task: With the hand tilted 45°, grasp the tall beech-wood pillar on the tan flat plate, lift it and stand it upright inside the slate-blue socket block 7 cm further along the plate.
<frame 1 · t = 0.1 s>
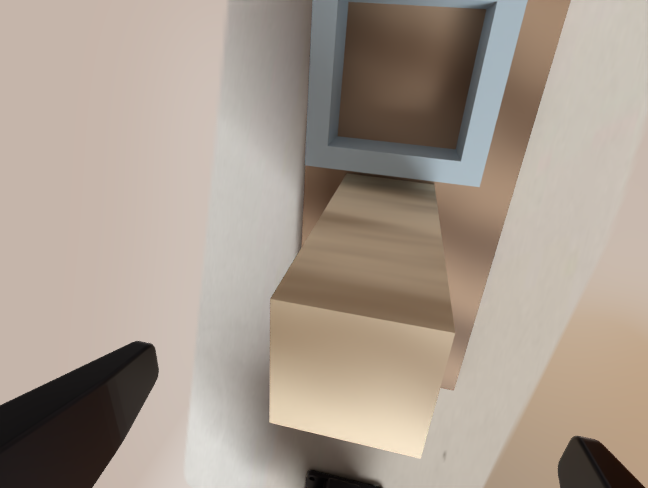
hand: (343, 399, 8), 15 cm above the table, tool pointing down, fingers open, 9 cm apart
slate socket block: (404, 79, 18), resting on tan flat plate
beech pillar: (383, 219, 21), point 1 cm above the table, touching tan flat plate
tan flat plate: (398, 214, 22), on the table
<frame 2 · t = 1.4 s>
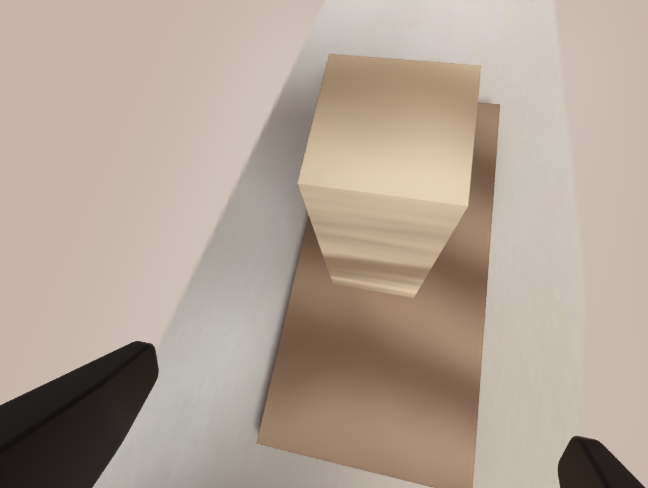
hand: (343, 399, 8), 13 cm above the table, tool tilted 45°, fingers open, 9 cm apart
beech pillar: (378, 252, 22), point 1 cm above the table, touching tan flat plate
tan flat plate: (391, 259, 23), on the table
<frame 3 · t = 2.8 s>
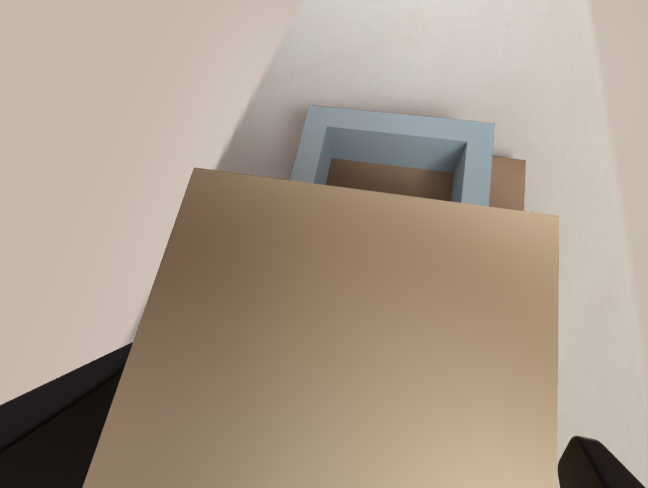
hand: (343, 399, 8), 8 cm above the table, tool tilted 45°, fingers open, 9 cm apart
slate socket block: (382, 220, 17), resting on tan flat plate
beech pillar: (355, 382, 15), point 1 cm above the table, touching tan flat plate
tan flat plate: (373, 385, 16), on the table
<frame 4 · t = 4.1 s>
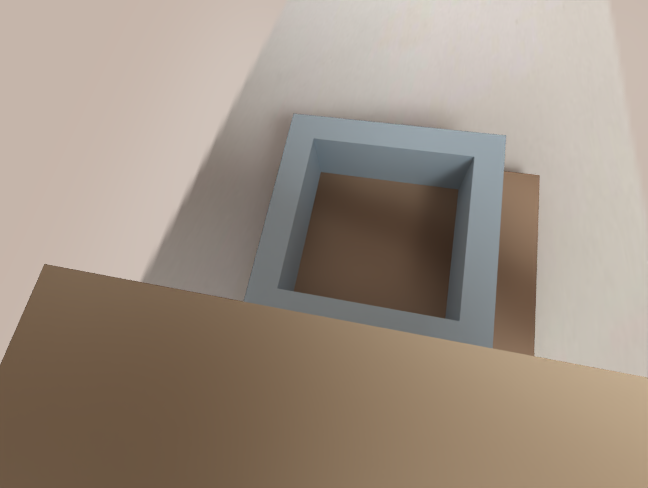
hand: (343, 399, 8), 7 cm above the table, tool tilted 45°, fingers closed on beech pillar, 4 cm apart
slate socket block: (377, 244, 15), resting on tan flat plate
beech pillar: (345, 433, 13), point 1 cm above the table, touching gripper, tan flat plate
tan flat plate: (367, 435, 14), on the table
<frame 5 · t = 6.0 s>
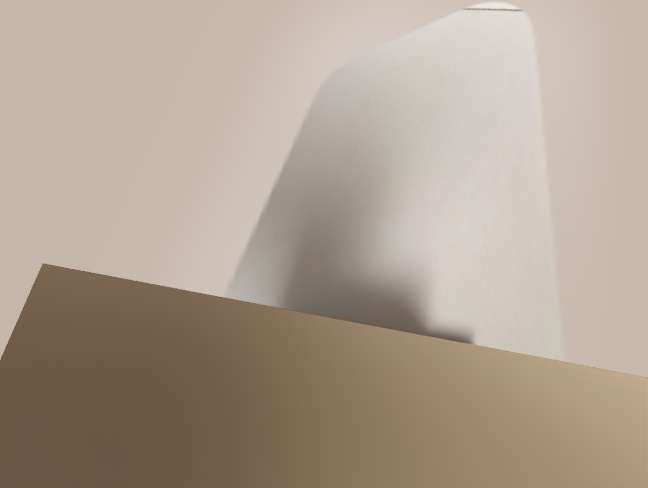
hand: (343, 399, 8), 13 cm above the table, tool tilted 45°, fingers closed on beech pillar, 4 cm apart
beech pillar: (345, 433, 13), point 8 cm above the table, touching gripper
when the fingers open (8 cm above the table, at t = 8.1 s): beech pillar stays where it is, resting on tan flat plate.
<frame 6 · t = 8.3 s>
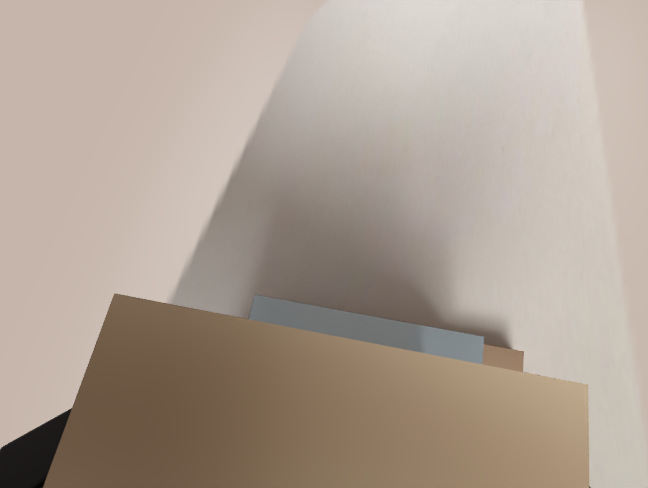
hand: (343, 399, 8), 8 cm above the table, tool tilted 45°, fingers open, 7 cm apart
slate socket block: (346, 429, 14), resting on tan flat plate
beech pillar: (346, 430, 14), point 1 cm above the table, touching tan flat plate
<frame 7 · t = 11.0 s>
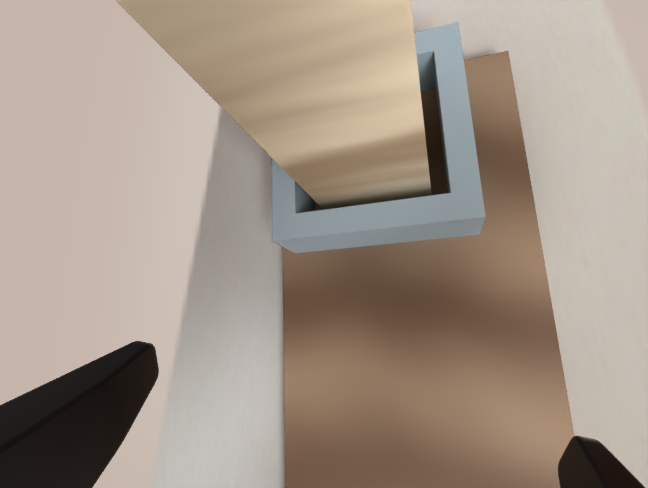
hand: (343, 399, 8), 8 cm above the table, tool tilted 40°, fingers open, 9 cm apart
slate socket block: (375, 159, 17), resting on tan flat plate
beech pillar: (375, 160, 17), point 1 cm above the table, touching tan flat plate
tan flat plate: (407, 319, 16), on the table
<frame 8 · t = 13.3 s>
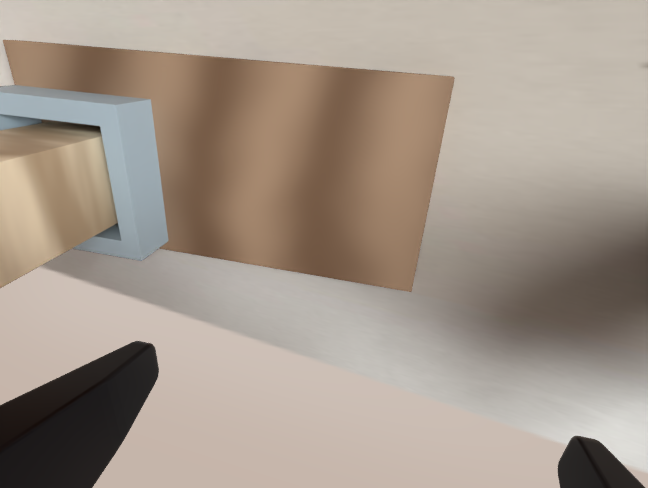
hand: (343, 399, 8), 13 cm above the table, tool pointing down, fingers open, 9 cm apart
slate socket block: (96, 167, 21), resting on tan flat plate
beech pillar: (97, 167, 21), point 1 cm above the table, touching tan flat plate
tan flat plate: (221, 164, 21), on the table
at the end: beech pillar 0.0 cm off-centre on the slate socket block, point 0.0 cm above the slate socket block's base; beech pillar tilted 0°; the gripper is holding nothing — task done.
